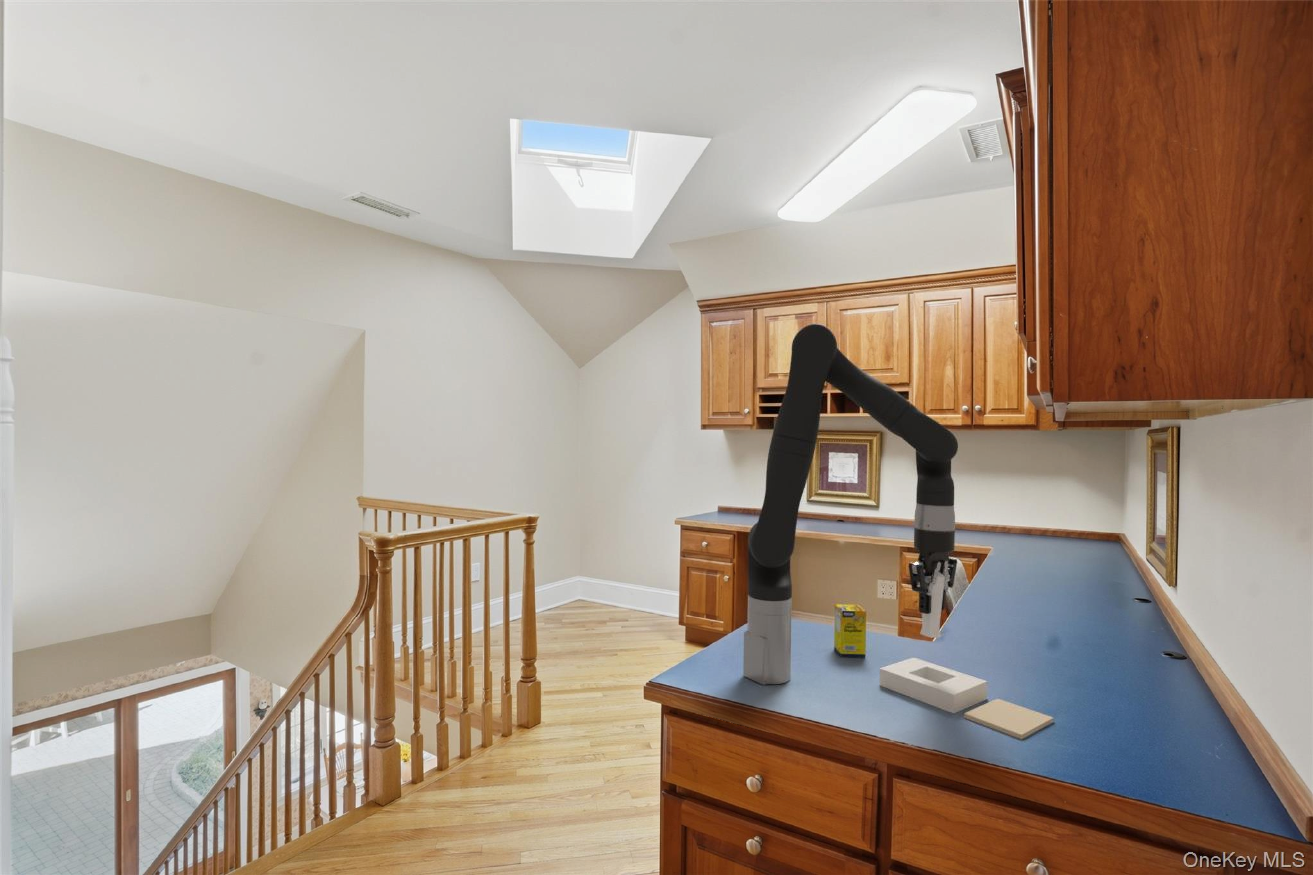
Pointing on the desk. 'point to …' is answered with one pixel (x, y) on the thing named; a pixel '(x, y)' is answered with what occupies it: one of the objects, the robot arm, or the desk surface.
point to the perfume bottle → (934, 609)
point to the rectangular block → (934, 684)
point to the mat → (1009, 718)
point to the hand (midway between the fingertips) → (932, 610)
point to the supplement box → (850, 631)
